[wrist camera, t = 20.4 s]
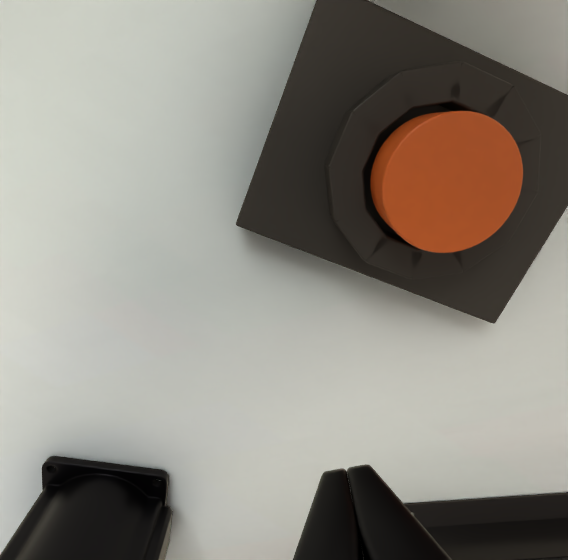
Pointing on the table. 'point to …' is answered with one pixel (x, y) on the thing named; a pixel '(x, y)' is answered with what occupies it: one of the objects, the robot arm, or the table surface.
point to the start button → (447, 180)
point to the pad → (372, 134)
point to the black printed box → (498, 527)
